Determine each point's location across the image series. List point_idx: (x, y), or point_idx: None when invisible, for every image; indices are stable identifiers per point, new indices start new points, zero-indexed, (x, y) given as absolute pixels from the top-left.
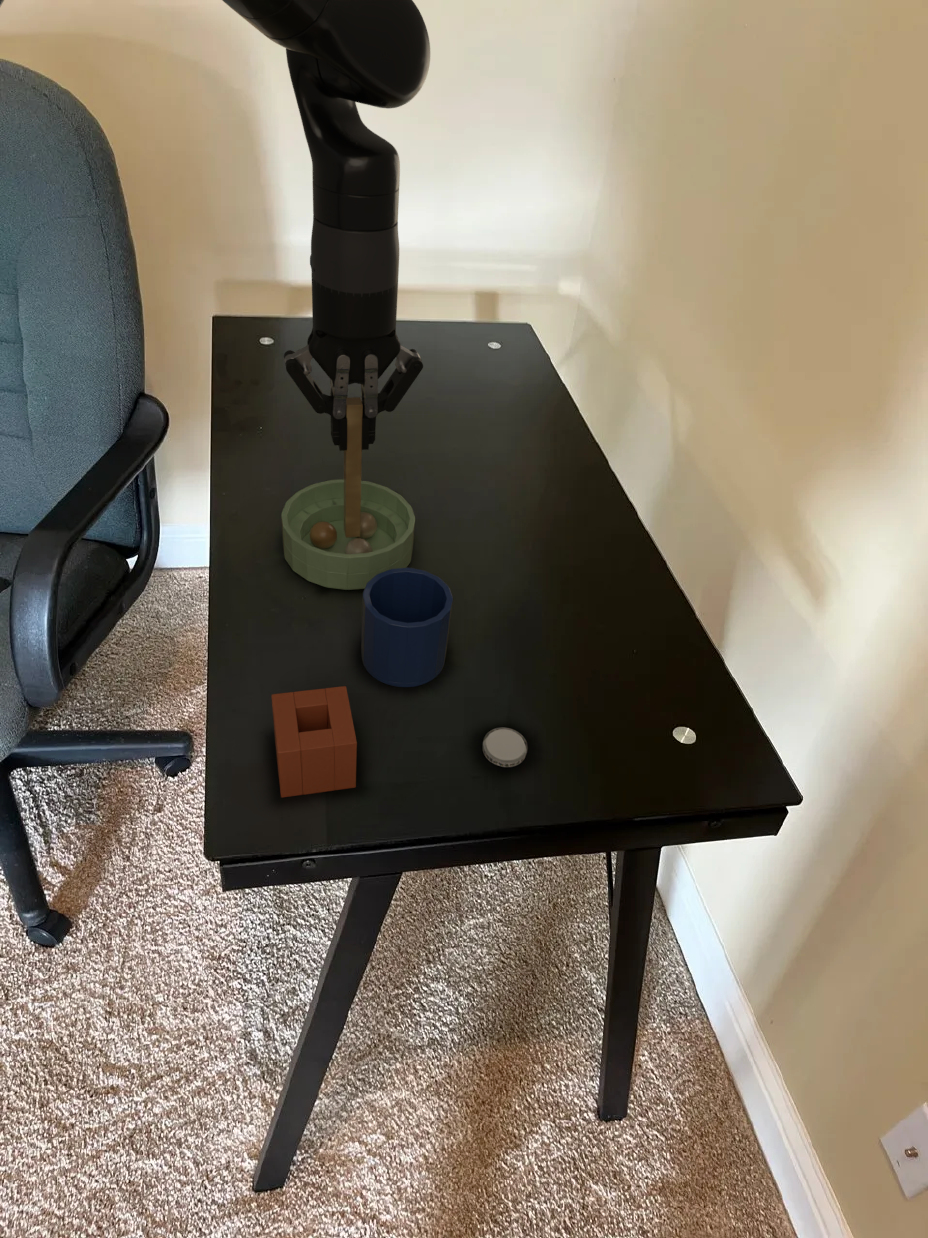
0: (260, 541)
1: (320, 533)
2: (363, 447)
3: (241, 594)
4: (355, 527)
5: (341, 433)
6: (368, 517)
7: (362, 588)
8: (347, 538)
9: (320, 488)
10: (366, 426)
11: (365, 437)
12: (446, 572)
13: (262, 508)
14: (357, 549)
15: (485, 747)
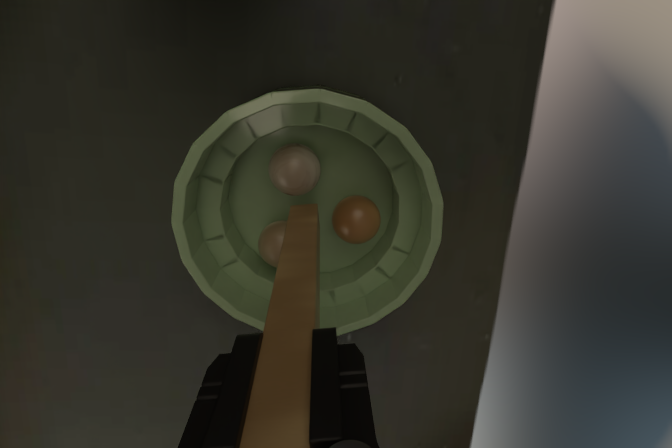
0: (450, 231)
1: (364, 209)
2: (254, 336)
3: (502, 97)
4: (298, 212)
5: (333, 378)
6: (272, 248)
7: (292, 86)
8: None
9: (357, 316)
10: (225, 411)
11: (239, 368)
12: (136, 139)
13: (437, 306)
14: (297, 157)
15: None
